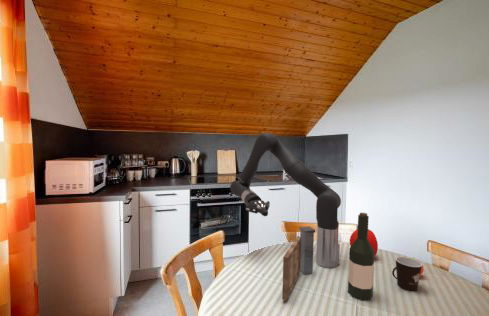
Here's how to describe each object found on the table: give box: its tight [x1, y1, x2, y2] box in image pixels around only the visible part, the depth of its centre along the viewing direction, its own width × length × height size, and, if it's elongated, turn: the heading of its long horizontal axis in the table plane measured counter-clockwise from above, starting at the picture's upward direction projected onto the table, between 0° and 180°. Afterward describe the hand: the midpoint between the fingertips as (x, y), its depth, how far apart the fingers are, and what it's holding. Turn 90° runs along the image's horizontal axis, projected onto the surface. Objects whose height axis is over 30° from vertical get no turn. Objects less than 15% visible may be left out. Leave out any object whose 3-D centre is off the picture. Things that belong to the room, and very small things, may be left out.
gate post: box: [298, 226, 316, 276], centre depth 107 cm, size 5×5×19 cm
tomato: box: [349, 228, 379, 258], centre depth 123 cm, size 13×11×14 cm
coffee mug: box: [391, 256, 423, 292], centre depth 97 cm, size 12×9×10 cm
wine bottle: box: [347, 212, 376, 302], centre depth 91 cm, size 8×8×30 cm
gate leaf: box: [281, 236, 301, 301], centre depth 96 cm, size 22×2×15 cm, turn 156°
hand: (266, 214), depth 112 cm, fingers closed
